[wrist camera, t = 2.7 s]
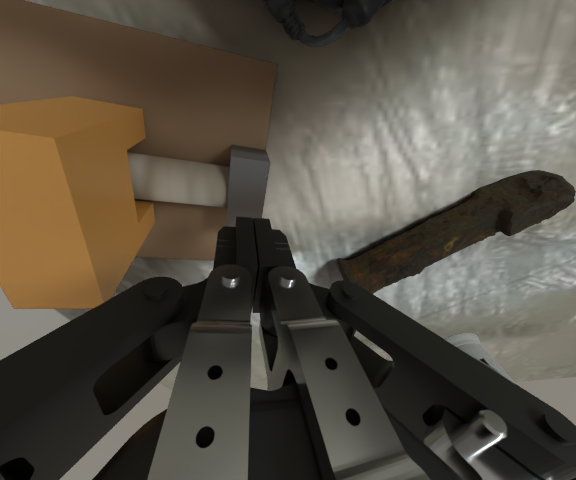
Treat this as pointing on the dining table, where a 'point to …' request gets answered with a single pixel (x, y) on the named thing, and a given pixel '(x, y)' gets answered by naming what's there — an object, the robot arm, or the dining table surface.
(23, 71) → the wooden base plate
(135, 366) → the robot arm
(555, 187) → the dark brown tapered rod
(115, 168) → the notched block
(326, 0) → the cable
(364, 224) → the dining table surface
